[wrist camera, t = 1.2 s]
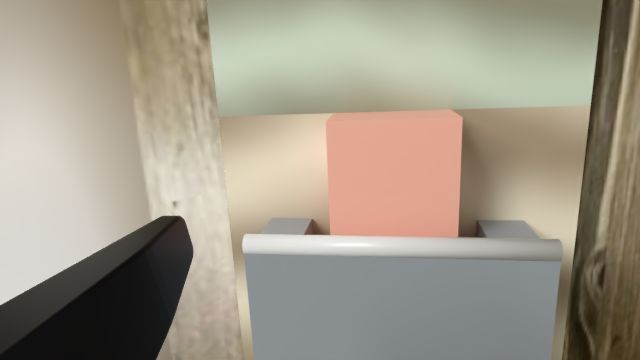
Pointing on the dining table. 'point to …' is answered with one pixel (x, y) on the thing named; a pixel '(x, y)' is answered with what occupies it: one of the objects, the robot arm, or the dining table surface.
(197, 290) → the dining table surface
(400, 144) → the pink eraser
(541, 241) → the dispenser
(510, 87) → the board
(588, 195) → the dining table surface
